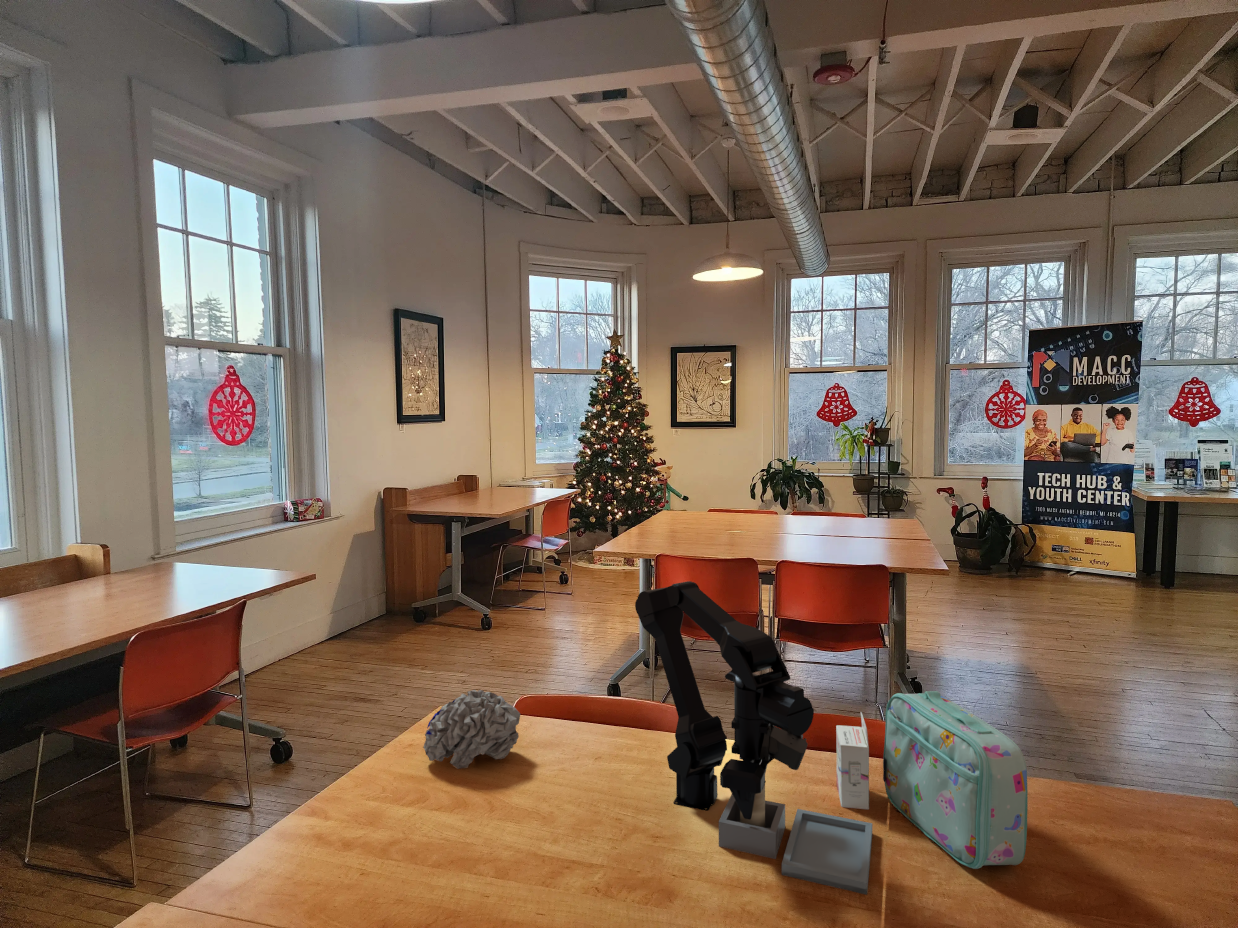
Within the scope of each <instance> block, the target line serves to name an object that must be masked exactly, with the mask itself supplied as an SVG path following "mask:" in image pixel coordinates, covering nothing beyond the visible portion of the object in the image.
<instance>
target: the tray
mask: <svg viewBox="0 0 1238 928" xmlns="http://www.w3.org/2000/svg"><path fill="white" fill-rule="evenodd" d="M795 813H796V814H795V815H794V816H795V817H794V820H793V822H792V826H791V830H790V834H789V838H788V840H787V844H786V848H785V851H784V854H783V858H782V862H781V876H784V877H785V876H786V877H789V878H793V879H798V880H802V881H807V882H811V883H815V884H819V885H823V886H828V887H831V888H836V889H840V890H845V891H850V892H853V893H858V894H861V895H866V896H868V889H869V888H868V886H869V876H870V867H871V866H870V863H871V853H872V843H873V842H872V841H873V823H872V822H867V821H862V820H858V819H857V820H856V819H852V818H847V817H842V816H838V815H831V814H827V813H821V812H816V811H810V810H806V809H800V808H797V809H796V812H795Z"/></svg>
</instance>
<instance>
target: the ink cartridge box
mask: <svg viewBox="0 0 1238 928" xmlns="http://www.w3.org/2000/svg"><path fill="white" fill-rule="evenodd" d="M860 719H861V720H860V721H861V726H854V725H853V726H852V725H838V724H837V725H836V726H835V727H836V728H835V729H836V730H835V732H836V733H835V734H836V772H835V773H836V787H837V788H836V789H837V792H838V797H839V802H840V807H841V808H847V809H848V808H849V809H859V810H860V809H861V810H870V747H869V736H868V735H869V734H868V728H867V724H866V721H865V719H864V715H863V712H862V711H860Z"/></svg>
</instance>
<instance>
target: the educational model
mask: <svg viewBox="0 0 1238 928" xmlns="http://www.w3.org/2000/svg"><path fill="white" fill-rule="evenodd" d="M520 719H521V713H520V711H518V709H517V708H516V707H515V706H513V705H511V703H508V702H507V701H506V700H505V699H504V696H502V695H497V694H496V693H494V692H492V691H484V690H481V689H479V690H476V689H473V690H469V691H467V694H466V693H461V695H460V696H458V697H456V698H455V699H453V700H452V701H448V703H446V704H444V705H443V706H441V708H440V709H439V711H437V712H436V713H434V715H433V716H432V717H431V719H430V721H429V722H428V724H427V727H426V728H427V730H426V731H425V734H424V736H425V741H424V742H423V747H422V748H423V749H424V751H425V756H426V757H428V760H429V761H431V762H433V761H438V762H443V760H444V759H445V758H448V759H449V758H450V757H451V756H452V758H451V759H450V762H449V764H451V765H452V767H454V768H456V769H457V770H458V769H467V768H469V765H470V764H471V763H473V761H474V758H475V757H476V756H477V757H478V756H479V755H482V756H483V755H486V756H489V757H491V758H493V759H494V760H502V759H505V758H506V757H507V756H508V755H509V753H510V751H511V749H513V748H514V747H513V746H514V745H516V744H517V741H518V739H519V737H520V736H519V731H518V732H517V725H519V724H520Z"/></svg>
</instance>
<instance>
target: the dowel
mask: <svg viewBox="0 0 1238 928" xmlns="http://www.w3.org/2000/svg"><path fill="white" fill-rule="evenodd" d="M765 800H766V784H765V785H764V787H763V789H762V791H761V793H758V794H756V795H755V801H754V807H753V812H752V817H751V819H750V820H749V819H745V818H744V817H743V815H742V813H741V811H740V823H745V824H749V825H754V826H759V827H764V828H765Z"/></svg>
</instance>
